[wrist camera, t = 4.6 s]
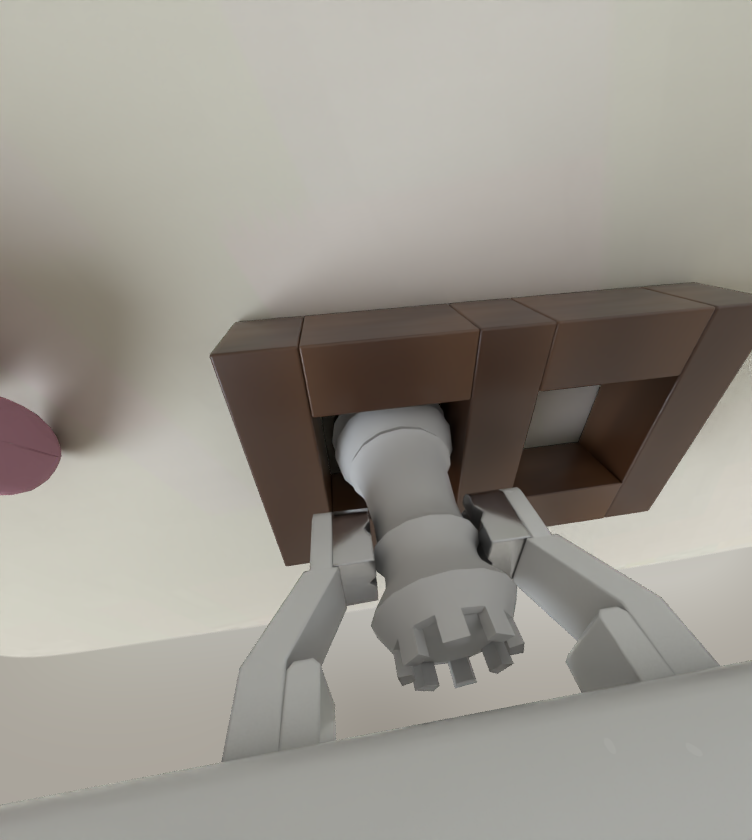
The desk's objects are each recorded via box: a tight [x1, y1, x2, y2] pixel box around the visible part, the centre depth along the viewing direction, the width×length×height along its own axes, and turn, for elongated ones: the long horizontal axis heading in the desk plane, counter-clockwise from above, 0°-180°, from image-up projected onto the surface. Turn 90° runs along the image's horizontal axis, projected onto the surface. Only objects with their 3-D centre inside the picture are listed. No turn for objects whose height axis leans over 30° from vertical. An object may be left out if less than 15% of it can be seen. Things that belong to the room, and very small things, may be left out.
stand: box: [210, 282, 752, 566], centre depth 12 cm, size 16×9×3 cm, turn 93°
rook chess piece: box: [332, 403, 524, 691], centre depth 9 cm, size 4×4×8 cm
